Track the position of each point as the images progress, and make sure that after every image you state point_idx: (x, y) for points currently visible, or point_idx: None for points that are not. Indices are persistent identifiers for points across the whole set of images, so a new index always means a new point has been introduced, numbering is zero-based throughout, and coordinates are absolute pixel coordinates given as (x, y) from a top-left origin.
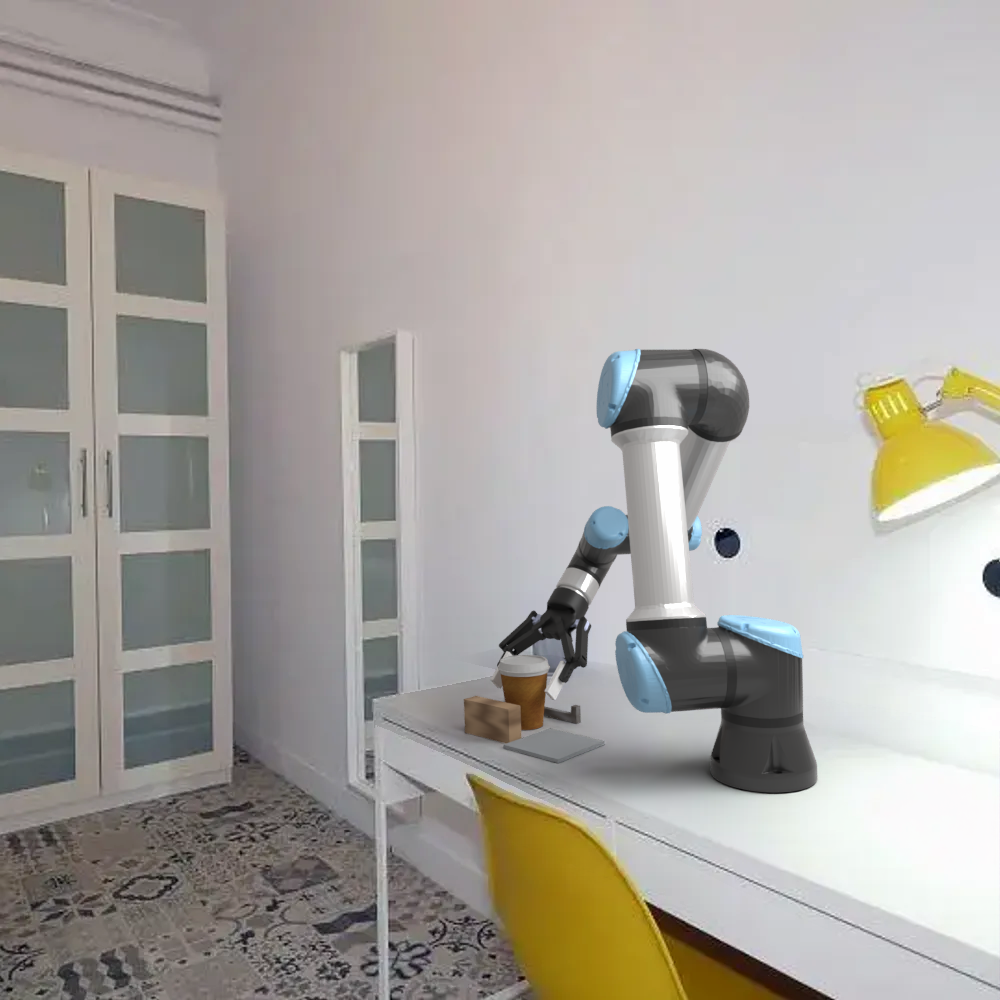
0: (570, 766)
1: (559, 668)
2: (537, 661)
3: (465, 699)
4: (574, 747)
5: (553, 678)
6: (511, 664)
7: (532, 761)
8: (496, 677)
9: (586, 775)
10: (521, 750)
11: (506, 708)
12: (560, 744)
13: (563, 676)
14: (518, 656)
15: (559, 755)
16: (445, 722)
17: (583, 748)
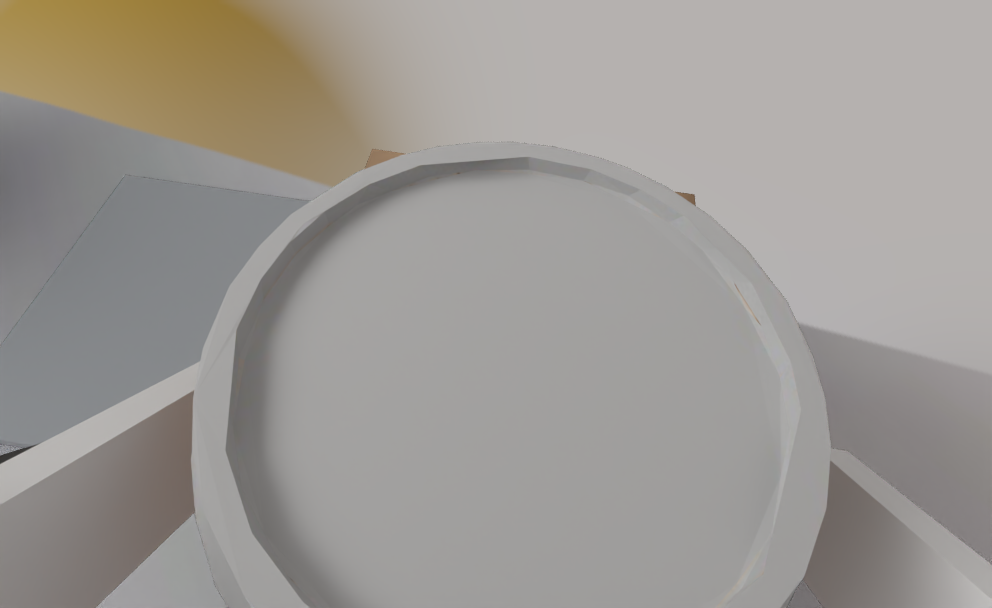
0: (80, 180)
1: (17, 462)
2: (354, 444)
3: (683, 194)
4: (87, 292)
5: (138, 399)
6: (495, 144)
7: (229, 169)
8: (832, 484)
9: (7, 143)
10: (298, 201)
11: (389, 155)
12: (161, 297)
13: (12, 453)
14: (767, 545)
15: (130, 204)
16: (827, 365)
17: (42, 299)
